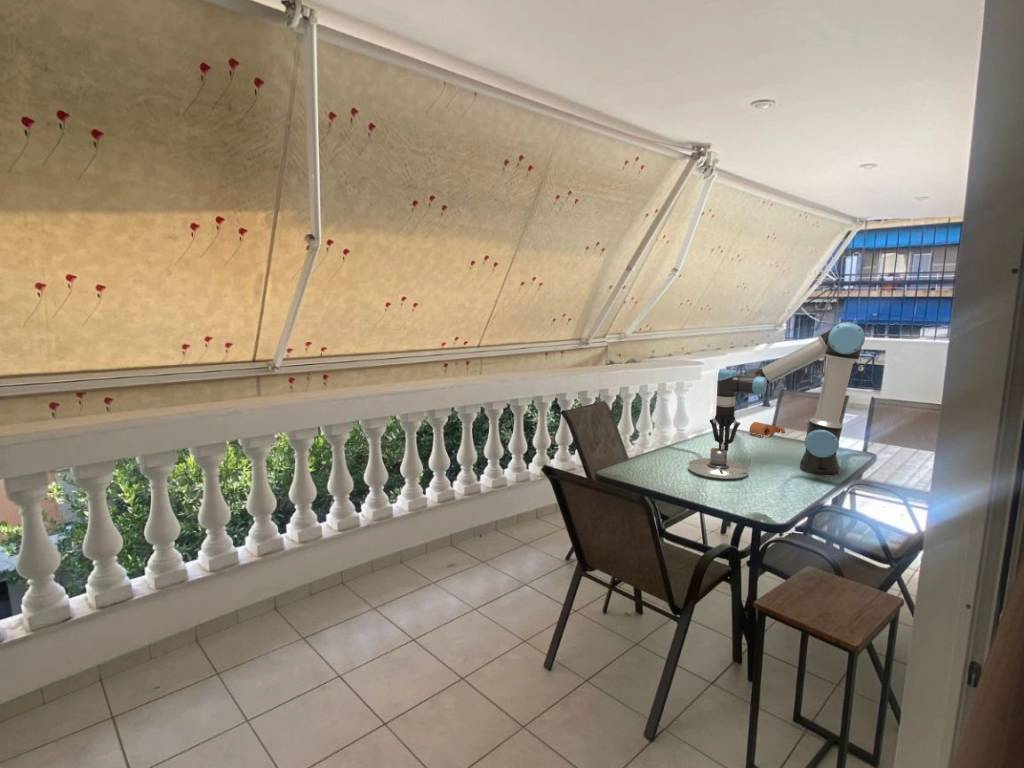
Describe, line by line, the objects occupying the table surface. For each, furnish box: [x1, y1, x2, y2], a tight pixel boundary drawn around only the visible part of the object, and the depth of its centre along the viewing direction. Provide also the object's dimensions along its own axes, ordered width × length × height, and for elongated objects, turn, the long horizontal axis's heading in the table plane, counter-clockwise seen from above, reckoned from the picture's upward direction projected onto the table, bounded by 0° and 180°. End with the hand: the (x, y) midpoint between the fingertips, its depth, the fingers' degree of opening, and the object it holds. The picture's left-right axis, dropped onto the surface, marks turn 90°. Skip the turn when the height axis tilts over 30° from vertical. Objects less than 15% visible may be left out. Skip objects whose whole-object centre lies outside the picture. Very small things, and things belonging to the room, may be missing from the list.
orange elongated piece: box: [749, 421, 786, 438], centre depth 299 cm, size 20×8×8 cm, turn 116°
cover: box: [709, 447, 728, 469], centre depth 235 cm, size 8×8×7 cm
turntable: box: [688, 447, 749, 480], centre depth 235 cm, size 24×24×6 cm
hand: (723, 457), depth 244 cm, fingers closed
